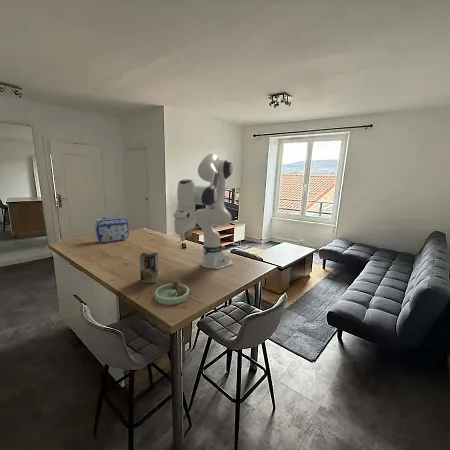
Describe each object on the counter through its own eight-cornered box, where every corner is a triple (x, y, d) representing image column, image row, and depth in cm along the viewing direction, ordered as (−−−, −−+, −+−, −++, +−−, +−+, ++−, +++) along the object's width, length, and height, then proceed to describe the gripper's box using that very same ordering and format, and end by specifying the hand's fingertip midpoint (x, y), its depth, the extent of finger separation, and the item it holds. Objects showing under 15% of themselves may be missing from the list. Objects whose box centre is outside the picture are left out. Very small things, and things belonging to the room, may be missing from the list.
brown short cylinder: (179, 293, 126) (179, 284, 125) (186, 294, 125) (186, 285, 124) (175, 296, 122) (175, 287, 121) (183, 298, 121) (183, 288, 120)
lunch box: (97, 244, 206) (95, 219, 201) (94, 241, 213) (92, 217, 209) (130, 239, 223) (128, 216, 218) (126, 237, 231) (125, 214, 226)
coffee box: (159, 278, 145) (158, 252, 142) (156, 282, 139) (155, 256, 135) (143, 277, 145) (142, 252, 141) (140, 282, 138) (139, 255, 135)
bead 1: (171, 291, 128) (171, 282, 127) (174, 287, 131) (174, 279, 130) (177, 292, 126) (177, 283, 125) (181, 289, 130) (181, 280, 129)
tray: (181, 285, 136) (181, 280, 135) (194, 299, 122) (194, 293, 121) (151, 292, 127) (151, 287, 126) (161, 308, 113) (161, 302, 112)
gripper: (187, 209, 133) (188, 233, 136) (171, 214, 114) (172, 243, 117) (198, 209, 132) (198, 234, 135) (184, 215, 112) (184, 244, 115)
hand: (186, 238), depth 126 cm, fingers open, 8 cm apart
